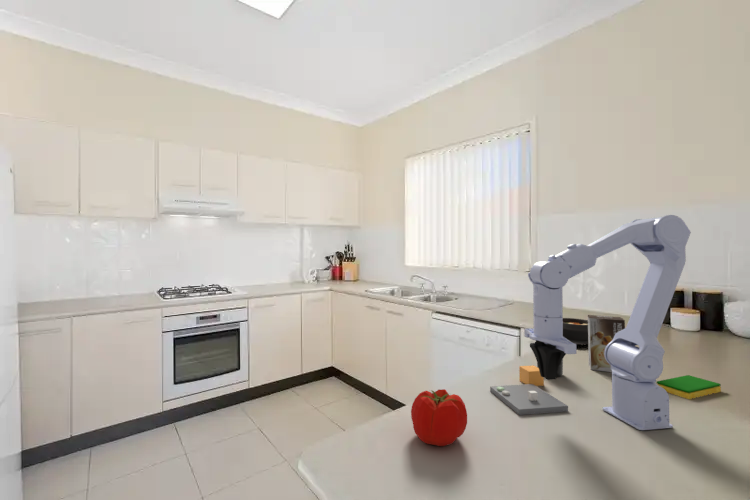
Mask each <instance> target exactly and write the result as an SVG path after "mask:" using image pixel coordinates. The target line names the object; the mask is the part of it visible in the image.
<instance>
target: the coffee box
mask: <svg viewBox="0 0 750 500" xmlns="http://www.w3.org/2000/svg"><path fill="white" fill-rule="evenodd" d="M587 320H588V345H587V346H588V349H587V350H588V352H587V353H588V366H589V368H590V370H591V371H598V372H599V371H600V372H607V373H612V370H611V365H610V364H609V363H608V362H607V361H606V359H605V356H604V351H605V348H606V346H607V345H608V344H609V343H610V342H611V341H612V340H613V338H614V336H615V334H616V333H617V332H619V331H621V330H623V329H625V328H626V322H625V321H626V320H625V319H624V318H622V317H621V316H611V315H610V316H609V315H608V316H607V315H594V314H587Z"/></svg>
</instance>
